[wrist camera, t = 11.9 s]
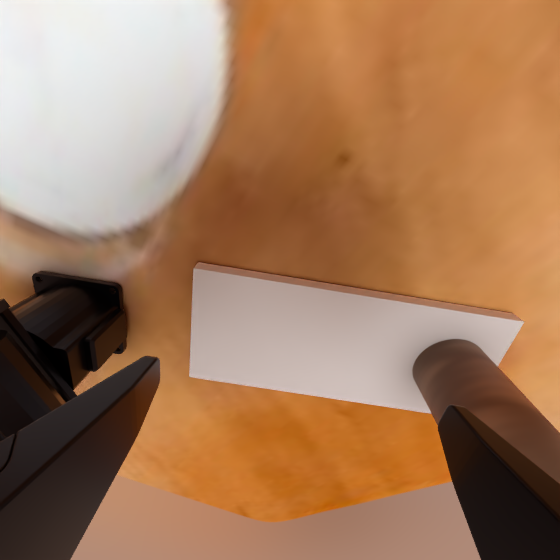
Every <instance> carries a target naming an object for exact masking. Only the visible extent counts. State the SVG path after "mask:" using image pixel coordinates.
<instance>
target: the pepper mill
mask: <svg viewBox="0 0 560 560" xmlns="http://www.w3.org/2000/svg"><path fill="white" fill-rule="evenodd" d="M412 374H413V378H414V380H415V382H416V384H417V386H418V388H419V390H420V392H421V394H422V396H423V398H424V400H425V402H426V404H427V406H428V407H429V409H430V411H431V413H432V415H433V417H434V419H435V421H436V423H437V425H438V423H439V420H440V418H441V417H442V415H443V413H444V411H445V410H446V408H447V406H449V405H451V404H452V405H459V406H463V407H465V408H466V409H468V410H469V411H470V412H471V413H473V414H474V415H475V416H476V417H478V418H479V419H480V420H481V421H483V422H484V423H485V424H486V425H488V426H489V427H490V428H491V429H493V430H494V431H495V432H496V433H497V434H499V435H500V436H501V437H502V438H504V439H505V440H506V441H507V442H509V443H510V444H511V445H512V446H514V447H515V448H516V449H517V450H519V451H520V452H521V453H522V454H523V455H525V456H526V457H527V458H528V459H530V460H531V461H532V462H533V463H535V464H536V465H537V466H538V467H540V468H541V469H542V470H543V471H545V472H546V473H547V474H548V475H550V476H551V477H552V478H553V479H555V480H556V481H557V482H558V483H559V484H560V433H559V432H558V431H557V430H556V429H555V428H554V426H553V425H552V424H551V423H550V422H549V421H548V420H547V419H546V418H545V417H544V416H543V415H542V414H541V413H540V411H539V410H538V409H537V408H536V407H535V406H534V405H533V404H532V403H531V402H530V401H529V400H528V399H527V398H526V396H525V395H524V394H523V393H522V392H521V391H520V390H519V389H518V388H517V387H516V386H515V385H514V384H513V383H512V381H511V380H510V379H509V378H508V377H507V376H506V375H505V374H504V373H503V372H502V371H501V370H500V369H499V368H498V366H497V365H496V364H495V363H494V362H493V361H492V360H491V359H490V358H489V357H488V356H487V355H486V354H485V353H484V352H483V350H482V349H481V348H480V347H479V346H477V345H476V344H474V343H473V342H470V341H467V340H463V339H449V340H444V341H440V342H437V343H435V344H433V345H431V346H429V347H428V348H426V349H425V350H424V351H423V352H422V353H421V354H420V355H419V356H418V357H417V359H416V360H415V362H414V365H413V369H412Z"/></svg>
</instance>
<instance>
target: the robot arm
mask: <svg viewBox="0 0 560 560" xmlns="http://www.w3.org/2000/svg"><path fill="white" fill-rule="evenodd" d="M40 277H41V278H42V279H41V278H40ZM32 280H33V284H34V289H35V294H34V295H32V296H30V297H29V298H27V299H25V300H23V301H22V302H20V303H18V304H16V305H14V306H13V307H11V308H9V307H10V306H9V304H8V303H7V302H6V301H5V299H1V300H0V560H70V559H71V557H72V555H73V553H74V551H75V550H76V548H77V546H78V544H79V542H80V540H81V539H82V537H83V535H84V533H85V531H86V529H87V527H88V525H89V524H90V522H91V520H92V519H93V517H94V515H95V513H96V511H97V509H98V507H99V506H100V503H101V502H102V500H103V498H104V496H105V495H106V493H107V491H108V489H109V487H110V485H111V484H112V482H113V480H114V478H115V476H116V474H117V473H118V471H119V469H120V467H121V465H122V463H123V462H124V460H125V458H126V456H127V454H128V452H129V451H130V449H131V447H132V445H133V443H134V441H135V439H136V437H137V435H138V433H139V431H140V429H141V426H142V424H143V422H144V419H145V417H146V414H147V412H148V410H149V407H150V405H151V402H152V400H153V398H154V395H155V393H156V390H157V388H158V386H159V382H160V360H159V358H157V357H151V356H144V357H142V358H140V359H139V360H137V361H135V362H134V363H132V364H130V365H129V366H127V367H125V368H124V369H122V370H120V371H119V372H117V373H115V374H114V375H112V376H110V377H108V378H107V379H105V380H103V381H102V382H100V383H98V384H97V385H95V386H93V387H92V388H90V389H88V390H87V391H85V392H83V393H82V394H80V395H78V396H77V395H76V394H75V392H74V391H73V390H74V389H75V388H76V387H77V386H78V384H79V383H80V382H81V381H82V380H83V379H84V378H85V377H86V376H87V375H88V373H89V372H90V371H93V372H95V371H97V370H98V369H99V368H100V367H101V366H102V365H103V364H104V363H105V362H106V360H107V359H108V358H109V357H110V356H111V355H112V354H113V353H115V354H121V353H123V352H124V350H125V349H126V340H125V339H126V338H127V332H126V318H125V312H124V310H123V300H122V289H121V287H120V285H118V284H116V283H111V282H105V281H99V280H93V279H86V278H80V277H74V276H67V275H61V274H55V273H49V272H42V271H39V272H37V273H35V274H33V276H32ZM112 288H113V289H115V291H116V292H115V291H113V290H112ZM118 347H119V348H118ZM438 431H439V435H440V439H441V442H442V446H443V450H444V453H445V457H446V461H447V464H448V468H449V472H450V475H451V479H452V482H453V485H454V488H455V490H456V494H457V496H458V499H459V502H460V504H461V507H462V510H463V512H464V515H465V518H466V520H467V523H468V526H469V528H470V531H471V534H472V537H473V539H474V542H475V545H476V547H477V550H478V552H479V555H480V558H481V560H560V484H559V483H558V482H557V481H556V480H555V479H553V478H552V477H551V476H550V475H548V474H547V473H546V472H545V471H543V470H542V469H541V468H540V467H538V466H537V465H536V464H535V463H533V462H532V461H531V460H530V459H528V458H527V457H526V456H525V455H523V454H522V453H521V452H520V451H519V450H517V449H516V448H515V447H514V446H512V445H511V444H510V443H509V442H507V441H506V440H505V439H504V438H502V437H501V436H500V435H499V434H497V433H496V432H495V431H494V430H493V429H491V428H490V427H489V426H488V425H486V424H485V423H484V422H483V421H481V420H480V419H479V418H478V417H476V416H475V415H474V414H473V413H471V412H470V411H469V410H468V409H466V408H465V407H463V406H459V405H452V404H451V405H449V406H447V408H446V410H445V411H444V413H443V415H442V417H441V418H440V420H439V423H438Z"/></svg>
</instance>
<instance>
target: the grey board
mask: <svg viewBox="0 0 560 560" xmlns="http://www.w3.org/2000/svg"><path fill="white" fill-rule="evenodd" d="M523 323H524V321H523V320H521V319H520V318H519V317H517V316H516V315H515V314H513V313H508V312H502V311H496V310H490V309H484V308H478V307H472V306H465V305H459V304H453V303H447V302H441V301H435V300H428V299H422V298H416V297H410V296H404V295H398V294H392V293H385V292H379V291H373V290H367V289H361V288H355V287H349V286H342V285H336V284H330V283H324V282H318V281H312V280H306V279H299V278H293V277H287V276H281V275H275V274H269V273H262V272H256V271H250V270H244V269H238V268H232V267H226V266H219V265H213V264H207V263H201V262H198V263H197V264H196V266H195V267H194V268H193V292H192V319H191V345H190V372H189V377H193V378H200V379H206V380H213V381H219V382H226V383H233V384H239V385H246V386H252V387H259V388H266V389H272V390H279V391H285V392H292V393H299V394H305V395H312V396H318V397H325V398H332V399H338V400H345V401H352V402H358V403H365V404H371V405H378V406H385V407H391V408H398V409H404V410H411V411H418V412H424V413H431V411H430V409H429V407H428V406H427V404H426V402H425V400H424V398H423V396H422V394H421V392H420V390H419V388H418V386H417V384H416V382H415V380H414V378H413V374H412V369H413V365H414V362H415V360H416V359H417V357H418V356H419V355H420V354H421V353H422V352H423V351H424V350H425V349H426V348H428V347H429V346H431V345H433V344H435V343H437V342H440V341H444V340H449V339H463V340H467V341H470V342H473V343H474V344H476V345H477V346H479V347H480V348H481V349H482V350H483V352H484V353H485V354H486V355H487V356H488V357H489V358H490V359H491V360H492V361H493V362H494V363H495V364H496V365H497V366H498V365H499V363H500V361H501V360H502V358H503V357H504V355H505V353H506V352H507V350H508V348H509V347H510V345H511V343H512V342H513V340H514V338H515V337H516V335H517V333H518V332H519V330H520V328H521V327H522V325H523ZM431 414H432V413H431Z"/></svg>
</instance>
